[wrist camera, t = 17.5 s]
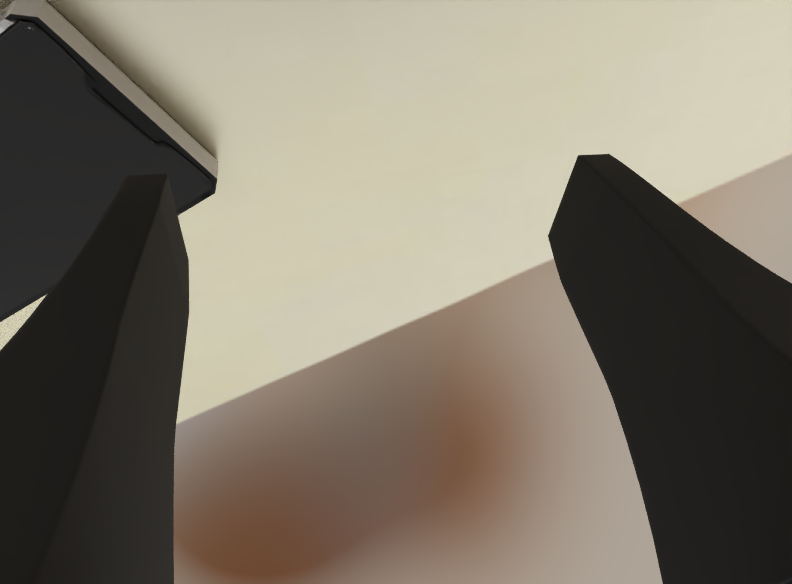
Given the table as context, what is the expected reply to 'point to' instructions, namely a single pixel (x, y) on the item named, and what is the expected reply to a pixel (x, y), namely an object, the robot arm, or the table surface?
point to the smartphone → (73, 147)
